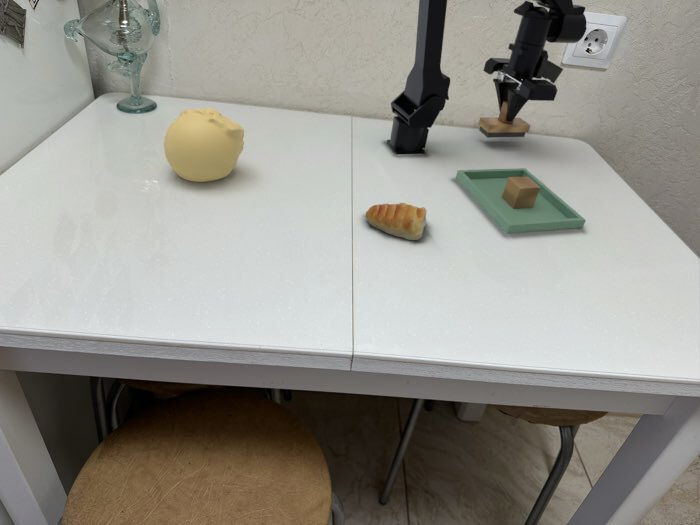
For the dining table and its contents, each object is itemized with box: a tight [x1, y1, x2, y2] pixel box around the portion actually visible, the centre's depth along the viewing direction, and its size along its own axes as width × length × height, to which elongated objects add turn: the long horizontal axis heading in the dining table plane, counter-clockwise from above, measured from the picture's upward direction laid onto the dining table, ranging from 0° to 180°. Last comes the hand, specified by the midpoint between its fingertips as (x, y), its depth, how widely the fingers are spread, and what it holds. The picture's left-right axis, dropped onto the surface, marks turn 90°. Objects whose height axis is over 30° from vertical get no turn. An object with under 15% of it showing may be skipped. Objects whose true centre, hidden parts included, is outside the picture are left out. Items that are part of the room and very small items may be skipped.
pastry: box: [365, 202, 427, 241], centre depth 76 cm, size 9×7×4 cm
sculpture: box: [163, 107, 245, 183], centre depth 80 cm, size 12×12×11 cm
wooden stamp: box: [478, 101, 532, 138], centre depth 105 cm, size 10×4×7 cm, turn 106°
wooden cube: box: [502, 177, 541, 209], centre depth 85 cm, size 4×4×4 cm
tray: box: [455, 167, 586, 234], centre depth 86 cm, size 15×19×2 cm
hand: (506, 118), depth 105 cm, fingers closed on wooden stamp, 2 cm apart
